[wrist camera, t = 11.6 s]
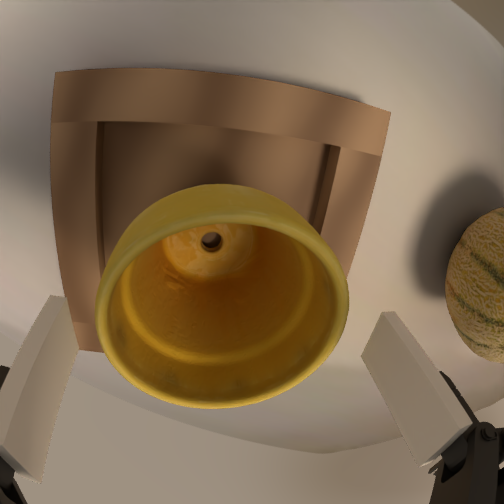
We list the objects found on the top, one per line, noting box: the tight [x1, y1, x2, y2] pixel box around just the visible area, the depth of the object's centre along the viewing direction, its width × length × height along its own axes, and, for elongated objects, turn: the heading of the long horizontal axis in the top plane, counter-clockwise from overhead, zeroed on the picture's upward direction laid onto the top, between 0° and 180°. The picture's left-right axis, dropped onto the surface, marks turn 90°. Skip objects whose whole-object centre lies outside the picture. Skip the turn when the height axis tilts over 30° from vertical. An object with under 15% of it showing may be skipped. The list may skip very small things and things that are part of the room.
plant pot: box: [95, 184, 349, 409], centre depth 16 cm, size 10×10×10 cm
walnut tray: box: [50, 68, 391, 353], centre depth 20 cm, size 20×20×3 cm
